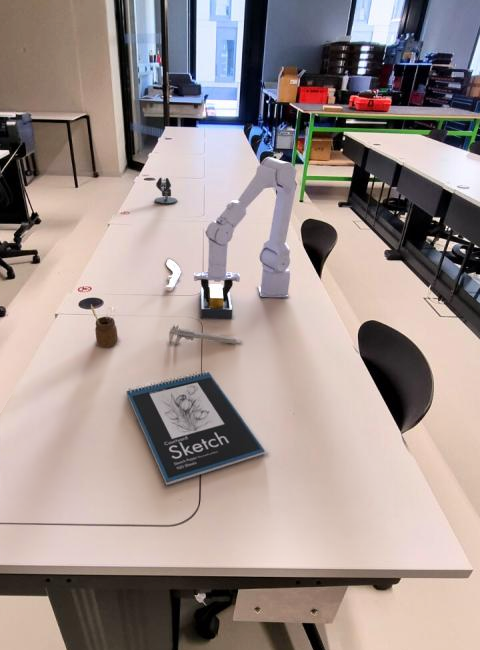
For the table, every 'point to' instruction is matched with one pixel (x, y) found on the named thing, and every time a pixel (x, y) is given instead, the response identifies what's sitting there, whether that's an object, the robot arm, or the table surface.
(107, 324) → the utensil holder
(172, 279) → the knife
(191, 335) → the caliper
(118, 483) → the table surface
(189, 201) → the table surface
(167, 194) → the dark grey upright piece
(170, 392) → the sketchbook
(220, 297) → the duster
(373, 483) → the table surface
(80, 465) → the table surface
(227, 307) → the case
